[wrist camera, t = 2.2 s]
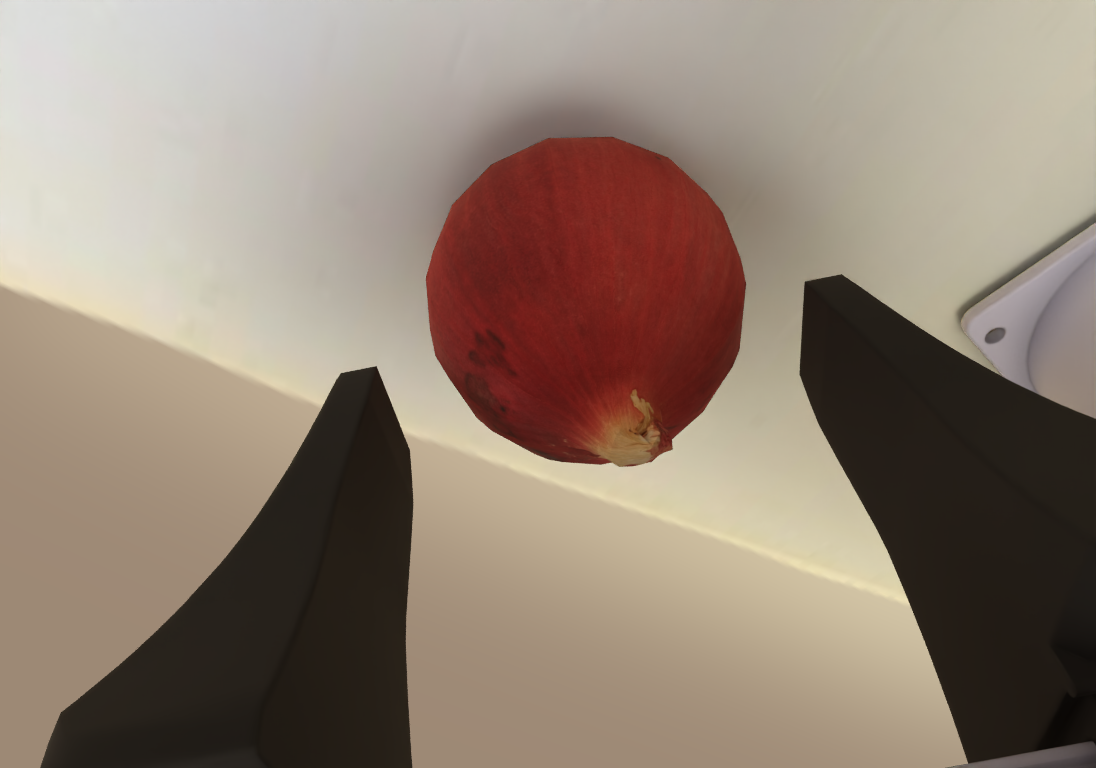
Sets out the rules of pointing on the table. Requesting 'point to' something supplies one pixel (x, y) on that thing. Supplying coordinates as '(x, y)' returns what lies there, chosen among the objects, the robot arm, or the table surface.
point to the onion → (586, 300)
